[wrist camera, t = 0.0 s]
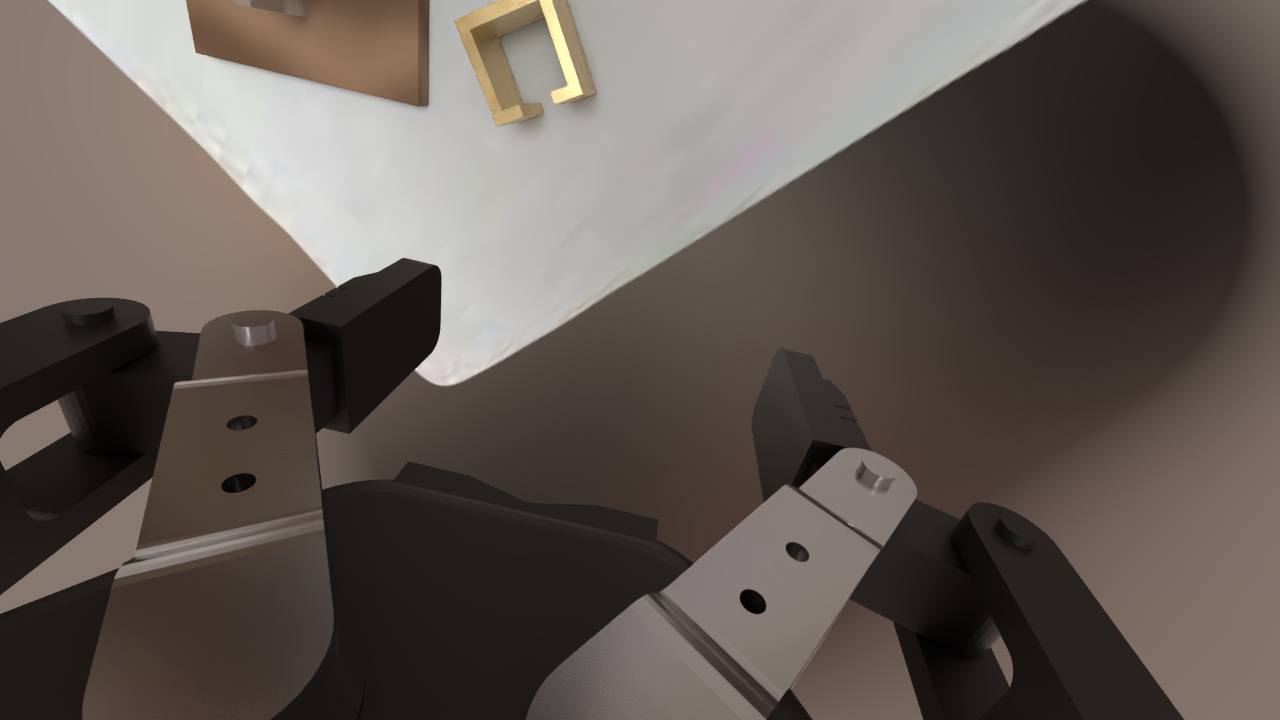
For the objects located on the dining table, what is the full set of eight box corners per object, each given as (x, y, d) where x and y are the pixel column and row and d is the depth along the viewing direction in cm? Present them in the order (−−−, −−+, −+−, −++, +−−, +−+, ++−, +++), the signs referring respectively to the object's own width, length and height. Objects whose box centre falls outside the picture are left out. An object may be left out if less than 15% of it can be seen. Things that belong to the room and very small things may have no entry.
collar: (484, 29, 35) (454, 20, 30) (565, -5, 33) (545, -20, 29) (520, 121, 37) (497, 126, 33) (596, 93, 36) (582, 93, 31)
